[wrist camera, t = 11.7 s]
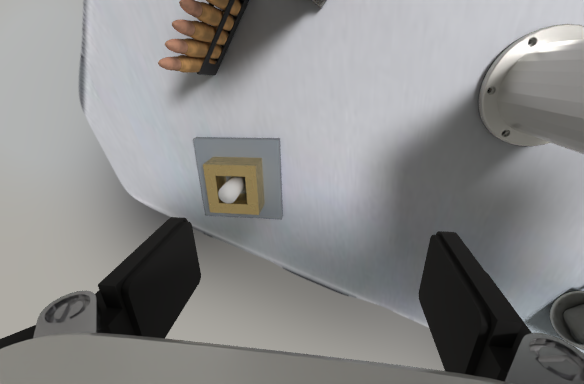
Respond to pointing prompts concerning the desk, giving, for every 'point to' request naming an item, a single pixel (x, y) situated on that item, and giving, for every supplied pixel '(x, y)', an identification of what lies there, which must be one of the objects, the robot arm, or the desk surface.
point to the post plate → (245, 151)
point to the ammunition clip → (204, 35)
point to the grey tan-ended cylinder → (569, 317)
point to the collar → (240, 167)
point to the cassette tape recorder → (319, 2)
